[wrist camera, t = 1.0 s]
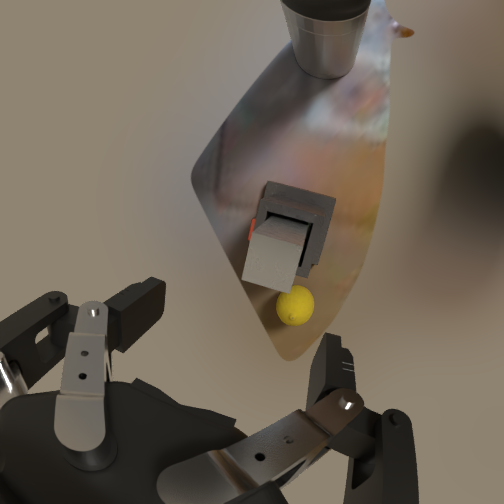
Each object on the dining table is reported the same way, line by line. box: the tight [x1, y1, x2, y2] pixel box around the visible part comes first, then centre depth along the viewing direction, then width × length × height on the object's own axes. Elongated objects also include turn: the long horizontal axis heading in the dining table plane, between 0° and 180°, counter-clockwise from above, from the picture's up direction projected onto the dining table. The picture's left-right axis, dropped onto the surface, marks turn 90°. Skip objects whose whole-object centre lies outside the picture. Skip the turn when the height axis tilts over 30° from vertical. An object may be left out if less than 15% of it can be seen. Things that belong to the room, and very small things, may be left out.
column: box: [242, 213, 309, 294], centre depth 30 cm, size 4×4×19 cm
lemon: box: [276, 285, 314, 326], centre depth 40 cm, size 6×6×8 cm
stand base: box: [248, 181, 336, 278], centre depth 35 cm, size 10×10×12 cm
